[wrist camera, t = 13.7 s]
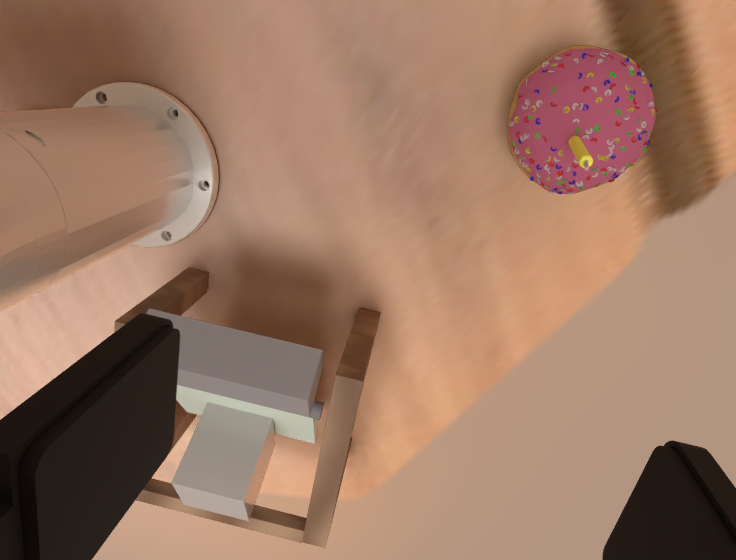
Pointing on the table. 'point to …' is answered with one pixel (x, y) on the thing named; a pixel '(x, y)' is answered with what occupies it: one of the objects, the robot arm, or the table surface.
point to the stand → (335, 438)
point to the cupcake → (580, 119)
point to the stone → (225, 461)
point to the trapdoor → (248, 375)
